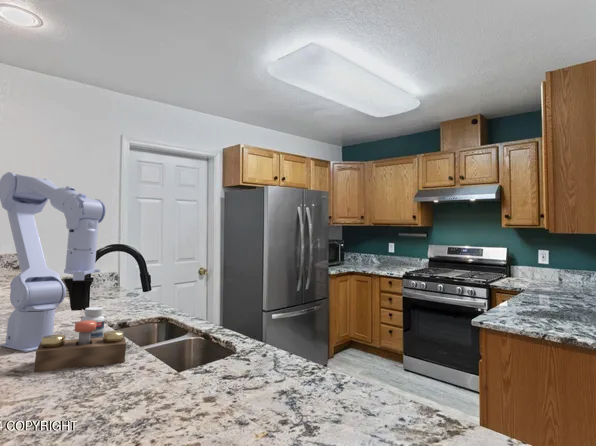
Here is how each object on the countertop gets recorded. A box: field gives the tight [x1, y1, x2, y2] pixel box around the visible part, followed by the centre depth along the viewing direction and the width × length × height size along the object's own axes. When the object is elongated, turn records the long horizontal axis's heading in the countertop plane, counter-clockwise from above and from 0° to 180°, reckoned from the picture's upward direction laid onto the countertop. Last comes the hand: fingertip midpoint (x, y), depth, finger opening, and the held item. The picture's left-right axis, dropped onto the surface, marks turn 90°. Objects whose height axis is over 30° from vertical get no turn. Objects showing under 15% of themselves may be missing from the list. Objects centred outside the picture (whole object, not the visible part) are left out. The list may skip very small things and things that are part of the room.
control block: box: [33, 335, 127, 373], centre depth 74 cm, size 16×7×4 cm, turn 121°
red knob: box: [74, 320, 97, 345], centre depth 75 cm, size 4×4×5 cm
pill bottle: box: [80, 306, 106, 338], centre depth 87 cm, size 5×5×9 cm
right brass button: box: [103, 330, 124, 343], centre depth 77 cm, size 4×4×5 cm
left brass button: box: [41, 334, 66, 348], centre depth 72 cm, size 4×4×5 cm
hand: (76, 310), depth 77 cm, fingers closed
